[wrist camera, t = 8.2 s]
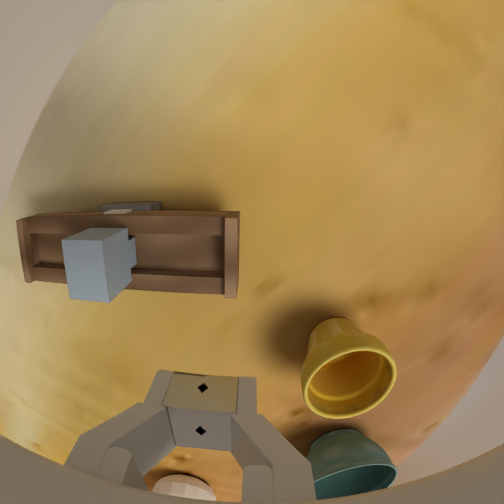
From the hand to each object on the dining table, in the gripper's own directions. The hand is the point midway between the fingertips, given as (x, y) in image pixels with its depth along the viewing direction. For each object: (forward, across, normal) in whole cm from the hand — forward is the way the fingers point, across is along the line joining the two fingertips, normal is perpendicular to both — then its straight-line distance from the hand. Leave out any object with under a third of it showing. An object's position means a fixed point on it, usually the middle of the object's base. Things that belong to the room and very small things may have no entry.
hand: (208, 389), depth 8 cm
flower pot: (+25, -17, +37) cm, 48 cm away
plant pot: (+25, -12, +14) cm, 31 cm away
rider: (+19, +12, +1) cm, 22 cm away
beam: (+25, +12, +1) cm, 28 cm away
